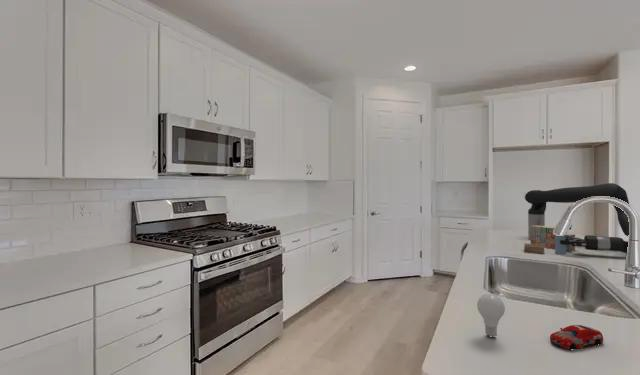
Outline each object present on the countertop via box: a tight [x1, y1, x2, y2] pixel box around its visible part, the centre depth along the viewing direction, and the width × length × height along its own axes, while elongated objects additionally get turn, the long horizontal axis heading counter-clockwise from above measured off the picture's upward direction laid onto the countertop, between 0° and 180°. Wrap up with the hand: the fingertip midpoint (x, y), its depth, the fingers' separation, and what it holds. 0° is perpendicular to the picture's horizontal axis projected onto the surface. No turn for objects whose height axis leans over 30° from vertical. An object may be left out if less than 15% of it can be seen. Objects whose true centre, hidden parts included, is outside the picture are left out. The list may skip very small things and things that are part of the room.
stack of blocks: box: [530, 225, 576, 252], centre depth 191 cm, size 21×6×12 cm, turn 25°
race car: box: [549, 324, 604, 351], centre depth 80 cm, size 13×5×4 cm, turn 103°
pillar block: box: [554, 235, 567, 256], centre depth 176 cm, size 4×4×12 cm
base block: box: [523, 242, 545, 255], centre depth 181 cm, size 9×9×4 cm
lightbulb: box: [476, 293, 506, 337], centre depth 84 cm, size 6×6×11 cm
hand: (558, 240), depth 176 cm, fingers open, 8 cm apart
